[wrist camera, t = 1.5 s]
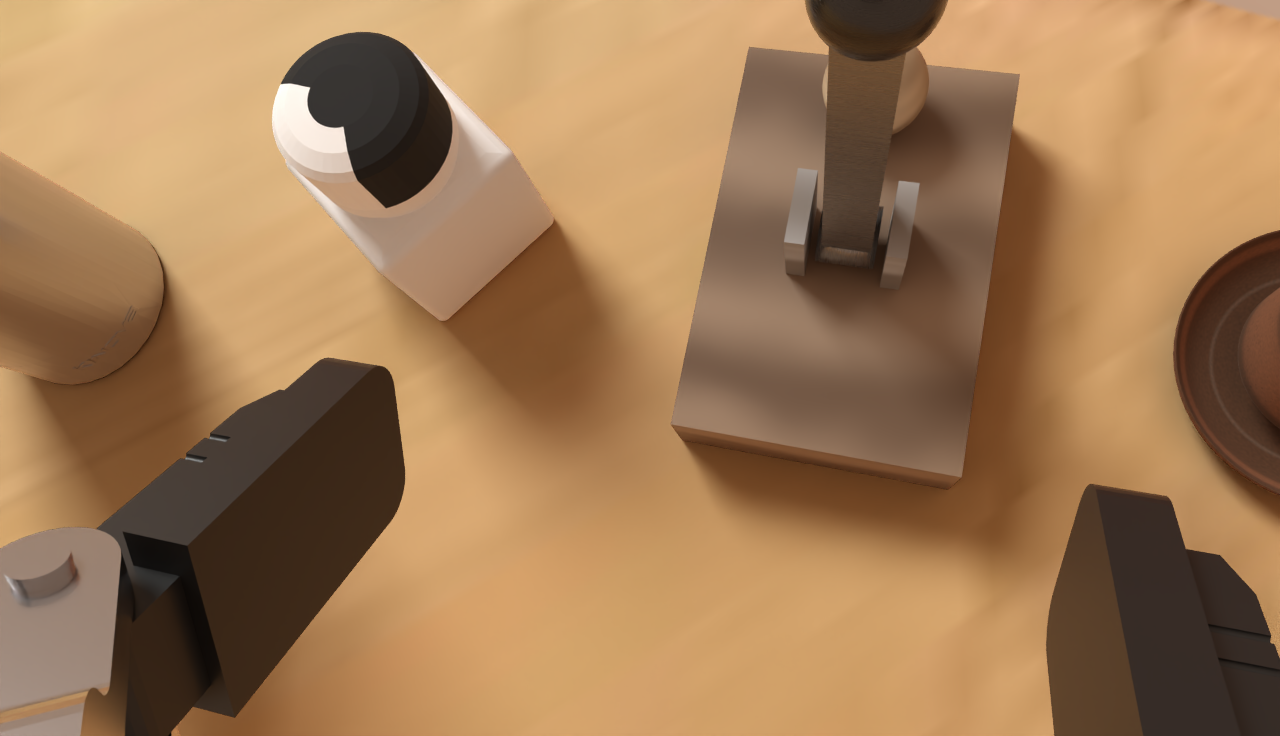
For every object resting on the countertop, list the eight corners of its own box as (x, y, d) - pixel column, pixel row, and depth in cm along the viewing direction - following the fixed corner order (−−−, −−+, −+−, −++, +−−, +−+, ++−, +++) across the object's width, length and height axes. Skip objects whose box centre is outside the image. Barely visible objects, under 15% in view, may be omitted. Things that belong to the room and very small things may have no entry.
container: (464, 125, 52) (357, -29, 39) (559, 221, 50) (476, 90, 37) (354, 224, 52) (210, 100, 39) (444, 326, 49) (322, 229, 37)
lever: (883, 291, 42) (949, 15, 23) (798, 278, 43) (791, 2, 23) (896, 212, 43) (971, -120, 23) (813, 201, 43) (817, -130, 24)
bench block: (948, 489, 44) (979, 461, 36) (682, 439, 46) (655, 403, 38) (1002, 118, 47) (1042, 16, 39) (753, 90, 50) (743, -11, 42)
